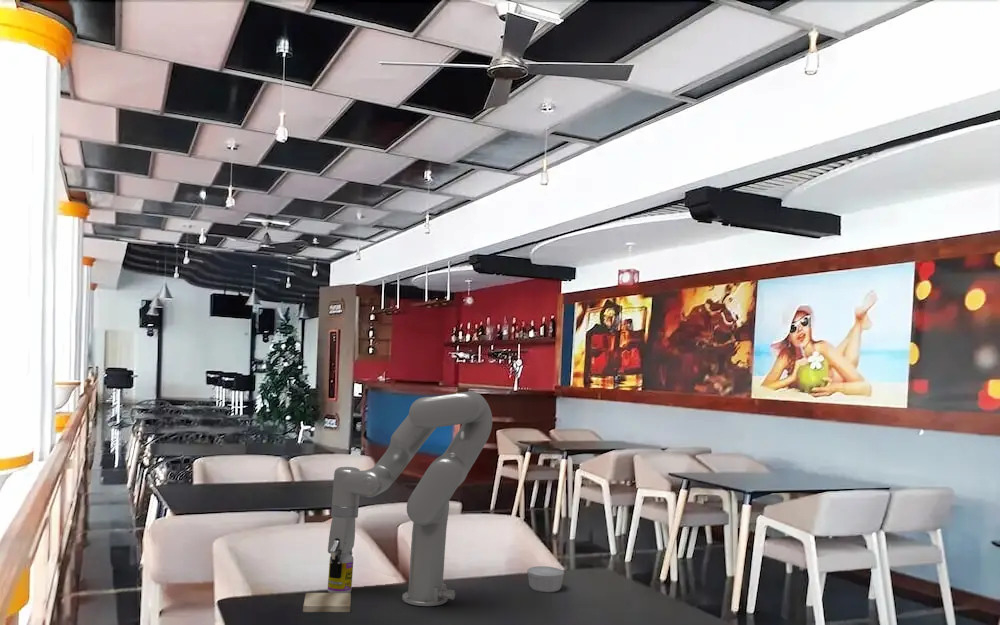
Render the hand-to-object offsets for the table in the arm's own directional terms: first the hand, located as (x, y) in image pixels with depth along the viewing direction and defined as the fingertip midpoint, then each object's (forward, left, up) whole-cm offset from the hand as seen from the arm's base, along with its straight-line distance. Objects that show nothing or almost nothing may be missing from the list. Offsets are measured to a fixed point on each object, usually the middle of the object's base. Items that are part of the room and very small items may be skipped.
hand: (340, 573), depth 225 cm
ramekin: (-49, -37, -5) cm, 62 cm away
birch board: (-4, +12, -5) cm, 14 cm away
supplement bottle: (0, 0, -5) cm, 5 cm away
